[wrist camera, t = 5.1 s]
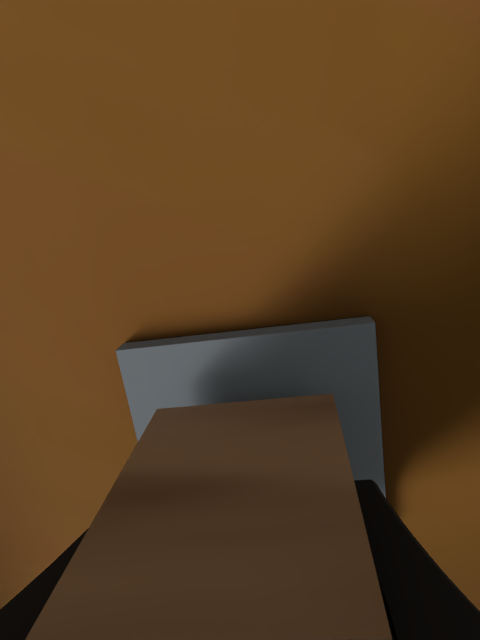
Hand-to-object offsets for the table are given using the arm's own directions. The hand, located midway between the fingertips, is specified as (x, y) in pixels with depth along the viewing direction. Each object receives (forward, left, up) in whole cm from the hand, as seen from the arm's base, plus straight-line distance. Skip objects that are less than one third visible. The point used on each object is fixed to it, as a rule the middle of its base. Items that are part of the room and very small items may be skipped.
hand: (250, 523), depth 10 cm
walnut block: (0, 0, -2) cm, 2 cm away
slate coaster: (0, 0, -3) cm, 3 cm away
